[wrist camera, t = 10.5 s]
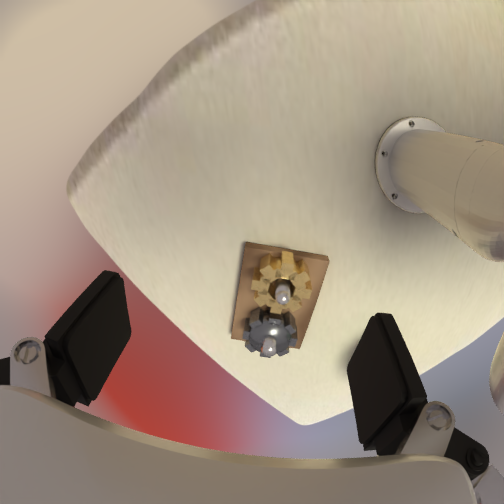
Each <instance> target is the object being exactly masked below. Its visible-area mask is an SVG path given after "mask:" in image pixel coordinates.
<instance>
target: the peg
mask: <svg viewBox="0 0 504 504" xmlns="http://www.w3.org/2000/svg"><path fill="white" fill-rule="evenodd" d="M275 299H276V301H277V302H278V303H279V304H281V305H284V304H287V303H288V302H289V301H290V280H288V279H282V278H278V279H276V288H275Z"/></svg>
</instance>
